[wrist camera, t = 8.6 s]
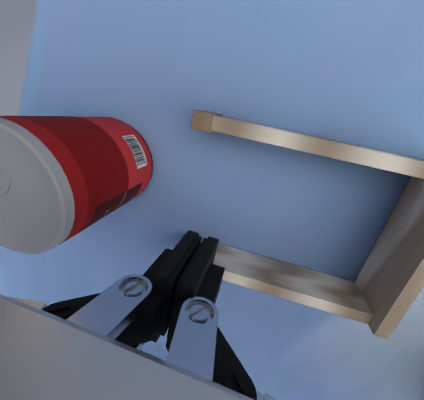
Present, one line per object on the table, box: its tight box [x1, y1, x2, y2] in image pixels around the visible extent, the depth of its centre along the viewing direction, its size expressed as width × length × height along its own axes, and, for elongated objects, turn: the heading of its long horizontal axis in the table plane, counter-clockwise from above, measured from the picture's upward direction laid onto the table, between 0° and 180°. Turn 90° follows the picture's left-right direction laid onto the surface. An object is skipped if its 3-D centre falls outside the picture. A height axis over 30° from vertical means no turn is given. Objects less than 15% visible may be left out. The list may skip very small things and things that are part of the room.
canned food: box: [0, 116, 153, 254], centre depth 17 cm, size 8×8×11 cm
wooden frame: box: [191, 110, 424, 339], centre depth 19 cm, size 18×13×5 cm
